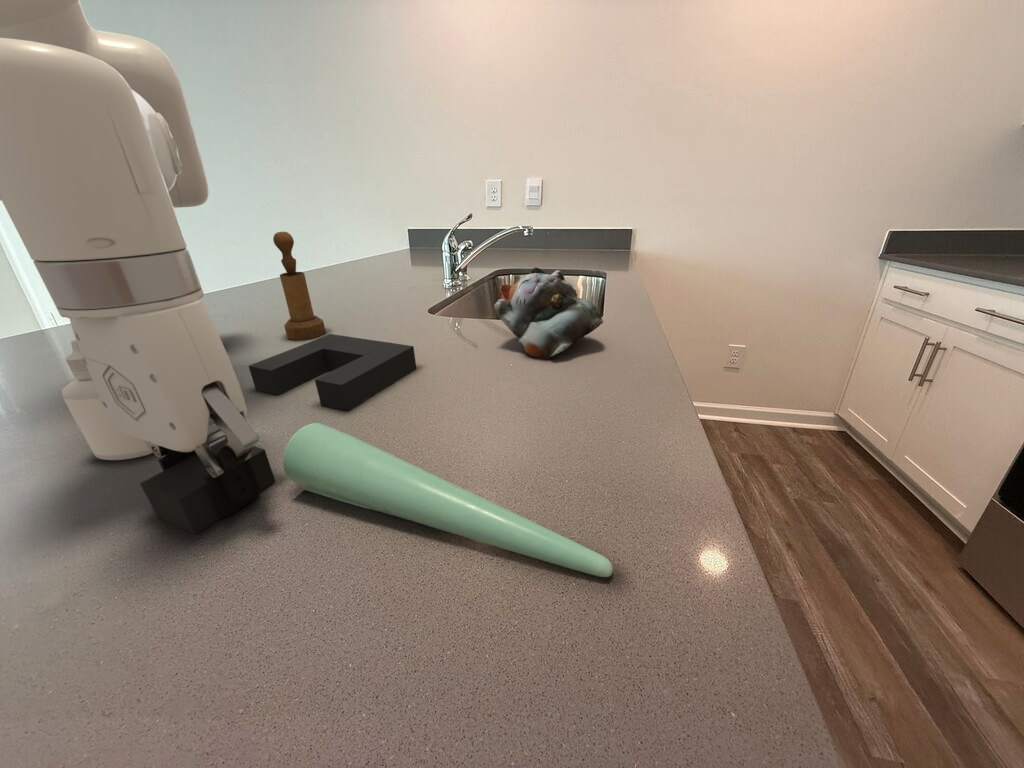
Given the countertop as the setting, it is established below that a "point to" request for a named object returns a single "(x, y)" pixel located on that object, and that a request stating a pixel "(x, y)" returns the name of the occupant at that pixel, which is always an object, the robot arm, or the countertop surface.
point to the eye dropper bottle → (97, 416)
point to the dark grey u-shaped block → (336, 369)
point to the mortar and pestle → (296, 295)
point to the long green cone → (421, 497)
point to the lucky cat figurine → (546, 313)
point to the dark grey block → (195, 490)
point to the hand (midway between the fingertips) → (218, 494)
